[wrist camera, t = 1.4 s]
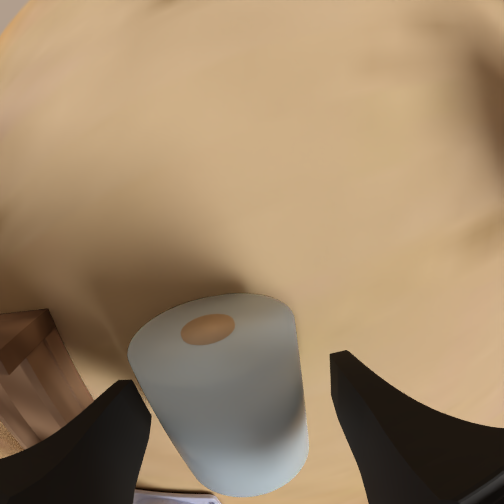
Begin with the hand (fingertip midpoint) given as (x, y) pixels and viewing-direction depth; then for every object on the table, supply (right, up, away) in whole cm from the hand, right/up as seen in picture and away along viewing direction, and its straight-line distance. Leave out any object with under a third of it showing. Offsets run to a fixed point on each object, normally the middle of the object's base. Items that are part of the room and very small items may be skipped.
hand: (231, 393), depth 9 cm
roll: (0, 0, +2) cm, 2 cm away
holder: (-12, -4, +3) cm, 12 cm away
